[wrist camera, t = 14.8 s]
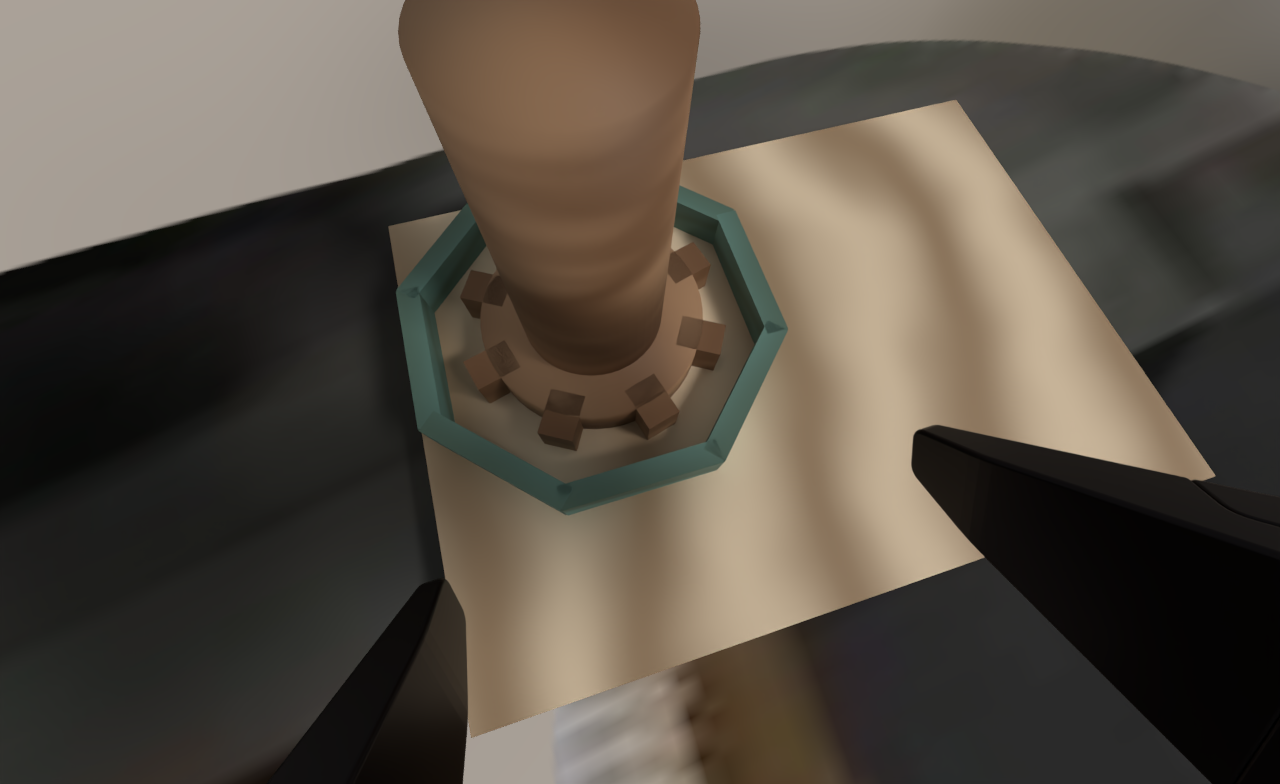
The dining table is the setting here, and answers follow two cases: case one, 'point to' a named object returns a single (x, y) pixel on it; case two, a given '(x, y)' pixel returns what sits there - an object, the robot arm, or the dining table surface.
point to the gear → (572, 199)
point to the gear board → (766, 410)
